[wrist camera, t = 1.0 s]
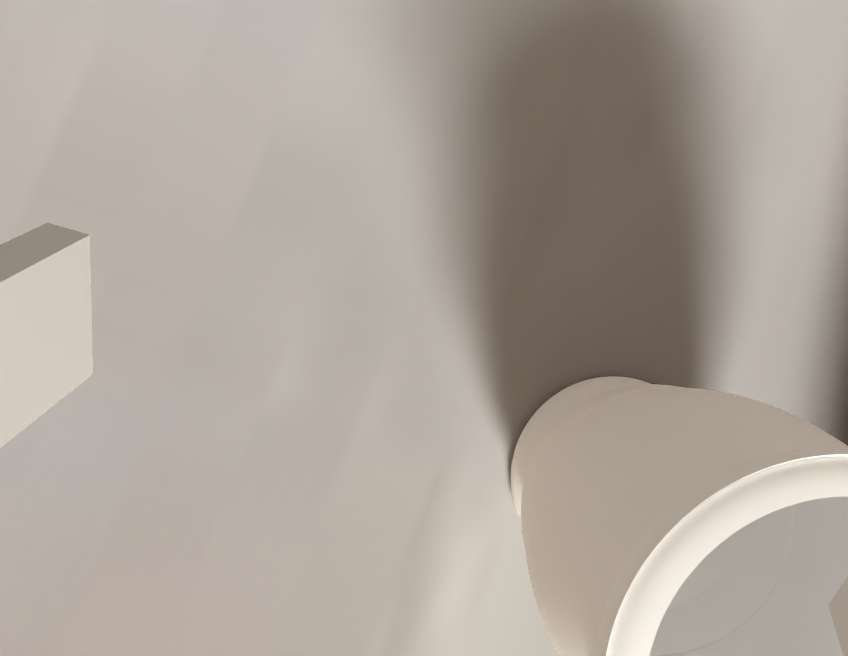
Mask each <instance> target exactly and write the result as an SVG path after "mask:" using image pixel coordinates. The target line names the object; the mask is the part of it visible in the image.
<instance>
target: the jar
mask: <svg viewBox="0 0 848 656" xmlns="http://www.w3.org/2000/svg"><path fill="white" fill-rule="evenodd" d="M511 491H512V497H513V502H514V506H515V509H516V512H517V514H518V517H519V519H520V521H521V525H522V534H523V540H524V545H525V550H526V556H527V563H528V569H529V575H530V579H531V584H532V588H533V592H534V596H535V599H536V602H537V606H538V609H539V612H540V615H541V617H542V620H543V623H544V625H545V628H546V630H547V632H548V635H549V637H550V639H551V641H552V643H553V645H554V647H555V649H556V651H557V653H558V655H559V656H843V653H842V649H841V646H840V643H839V639H838V636H837V633H836V630H835V626H834V623H833V620H832V617H831V613H830V610H829V607H828V605H829V604H830V602H831V601H832V599H833V598H834V596H835V595H836V593H837V591H838V590H839V588H840V587H841V585H842V584H843V582H844V581H845V579H846V578H847V576H848V446H847V445H846V444H844V443H843V442H841V441H840V440H838V439H837V438H835V437H833V436H832V435H830V434H828V433H827V432H825V431H823V430H822V429H820V428H818V427H816V426H814V425H813V424H811V423H809V422H807V421H805V420H803V419H801V418H799V417H797V416H795V415H792V414H790V413H788V412H786V411H783V410H781V409H779V408H776V407H773V406H771V405H768V404H765V403H762V402H759V401H756V400H753V399H750V398H746V397H743V396H739V395H735V394H730V393H726V392H720V391H714V390H707V389H697V388H684V387H678V386H671V385H659V384H650V383H648V382H645V381H642V380H638V379H634V378H629V377H620V376H607V377H598V378H593V379H588V380H584V381H581V382H579V383H576V384H573V385H571V386H569V387H567V388H565V389H563V390H562V391H560V392H558V393H557V394H555V395H554V396H552V397H551V398H550V399H549V400H547V401H546V402H545V403H544V404H543V405H542V406H541V407H540V408H539V409H538V410H537V411H536V412H535V413H534V415H533V416H532V417H531V419H530V420H529V421H528V423H527V424H526V426H525V428H524V429H523V431H522V433H521V435H520V437H519V440H518V442H517V445H516V448H515V451H514V455H513V460H512V466H511Z"/></svg>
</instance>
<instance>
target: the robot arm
mask: <svg viewBox="0 0 848 656" xmlns="http://www.w3.org/2000/svg"><path fill="white" fill-rule="evenodd" d="M92 374H93V359H92V316H91V272H90V235H88V234H85V233H81V232H78V231H74V230H71V229H68V228H64V227H61V226H57V225H54V224H50V223H46V224H44V225H42V226H40V227H38V228H36V229H34V230H31V231H29V232H27V233H25V234H23V235H21V236H19V237H17V238H14V239H12V240H10V241H8V242H6V243H4V244H2V245H0V448H1V447H2V446H3V445H4V444H6V443H7V442H8V441H9V440H11V439H12V438H13V437H14V436H16V435H17V434H18V433H19V432H21V431H22V430H23V429H25V428H26V427H27V426H28V425H30V424H31V423H32V422H33V421H35V420H36V419H37V418H38V417H40V416H41V415H42V414H43V413H45V412H46V411H47V410H48V409H50V408H51V407H52V406H53V405H55V404H56V403H57V402H58V401H60V400H61V399H62V398H63V397H65V396H66V395H67V394H69V393H70V392H71V391H72V390H74V389H75V388H76V387H77V386H79V385H80V384H81V383H82V382H84V381H85V380H86V379H87V378H89V377H90V376H91V375H92ZM828 607H829V610H830V613H831V617H832V620H833V623H834V626H835V630H836V633H837V636H838V639H839V643H840V646H841V649H842V653H843V656H848V576H847V578H846V579H845V581H844V582H843V584H842V585H841V587H840V588H839V590H838V591H837V593H836V595H835V596H834V598H833V599H832V601H831V602H830V604H829V605H828Z"/></svg>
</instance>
